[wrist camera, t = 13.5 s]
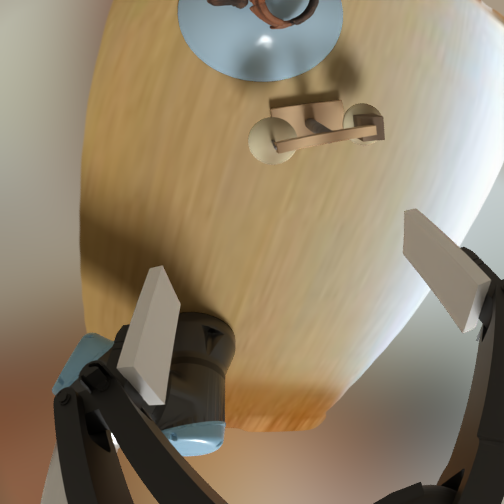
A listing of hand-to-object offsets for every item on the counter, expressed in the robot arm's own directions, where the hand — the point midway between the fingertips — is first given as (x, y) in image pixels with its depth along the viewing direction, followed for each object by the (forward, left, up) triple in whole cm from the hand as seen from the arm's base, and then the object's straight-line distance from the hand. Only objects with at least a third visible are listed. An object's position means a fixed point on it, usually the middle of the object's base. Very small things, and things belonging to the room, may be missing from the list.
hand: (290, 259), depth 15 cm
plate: (+4, +18, -26) cm, 32 cm away
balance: (+7, +2, -26) cm, 27 cm away
